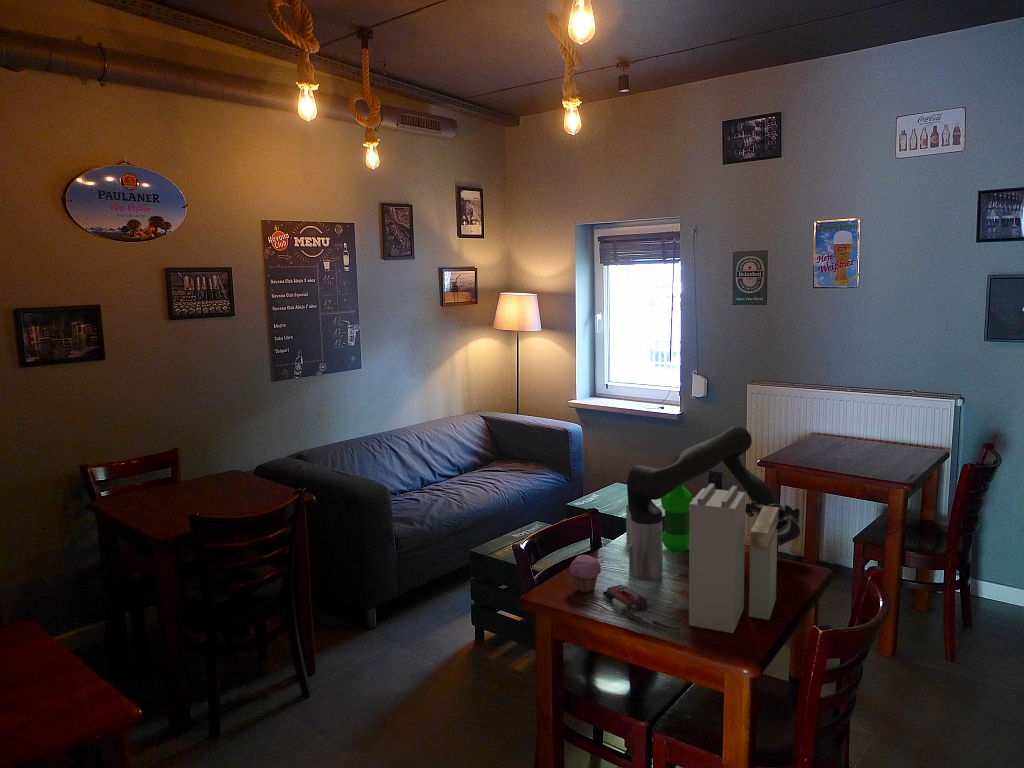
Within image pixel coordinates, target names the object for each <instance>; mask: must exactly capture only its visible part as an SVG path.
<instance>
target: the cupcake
mask: <svg viewBox="0 0 1024 768" xmlns="http://www.w3.org/2000/svg"><path fill="white" fill-rule="evenodd" d="M601 569H602V568H601V564H600V562H599V560H598V559H597V558H595V557H593V556H591V555H588V554H580V555H577V556H576V557H575V558H574V560H572V562H571V564H570V566H569V572H570V573H571V575H572V577H573V586H574V589H575V590H576V591H577V592H580V593H589V592H592V591H593V590H594V589H595V588H596V585H597V584H596V583H597V579H598V576H599V574H600V573H601V571H602V570H601Z"/></svg>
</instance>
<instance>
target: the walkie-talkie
mask: <svg viewBox="0 0 1024 768" xmlns="http://www.w3.org/2000/svg"><path fill="white" fill-rule="evenodd" d="M602 594H603V597H606V599H607V600H608V601H609V602H611V604H613V605H612V606H613V607H612V608H613V609H614V610H615V611H616V612H617V613H619V614H620V615H627V616H629V617H630V618H631V619H633V620H636V621H637V622H639V623H641V624H643V623H644V621H643V619H642V618H640V617H639V616H637V615H636V614H634V612H635V613H636V612H638V611H645V610H647V609H648V599H647V598H646V597H644V596H642V595H640V594H639V593H638V592H636V591H634V590H633V588H629V587H628V586H626V585H624V584H617V585H613V586H610V587H607V588H606V590H604V591H603V592H602Z"/></svg>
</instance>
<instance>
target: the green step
mask: <svg viewBox="0 0 1024 768" xmlns="http://www.w3.org/2000/svg"><path fill="white" fill-rule="evenodd" d="M777 547H778V546H777V529H775V531H774V533H773V535H772V538H771V540H770V543H769V545H768V547H767V549H765V548H757V547H750V546H749V586H748V587H749V591H748V593H749V595H748V597H749V598H748V601H749V602H748V605H749V606H748V617H751V618H755V619H762V620H766V621H767V620H768V621H770V619H771V616H772V612H773V610H774V606H775V603H776V600H777V560H778V558H777V557H778V556H777V555H778V554H777V553H778V551H777V550H778V548H777Z"/></svg>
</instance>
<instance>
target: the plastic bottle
mask: <svg viewBox="0 0 1024 768" xmlns="http://www.w3.org/2000/svg"><path fill="white" fill-rule="evenodd" d="M693 499H694V497H693V496H692V493H691V492H690V491H689V490H688V489H687V488H686V487H684V486H683V484H682V485H680V486H678V487H677V488H676V489H674V490H673V491H671V492H670V493H668V494H667V495H666V496H664V497H662V498H660V503H661V507H662V509H663V510H664V530H663V531H662V538H663V546H664V547H665V548H666V549H668V550H669V552H671V553H676V554H679V553H684V552H685V551H686V550H689V504H690V502H691V501H692V500H693Z"/></svg>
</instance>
